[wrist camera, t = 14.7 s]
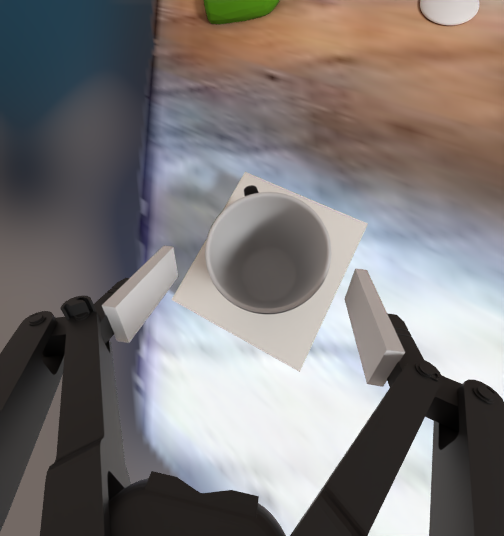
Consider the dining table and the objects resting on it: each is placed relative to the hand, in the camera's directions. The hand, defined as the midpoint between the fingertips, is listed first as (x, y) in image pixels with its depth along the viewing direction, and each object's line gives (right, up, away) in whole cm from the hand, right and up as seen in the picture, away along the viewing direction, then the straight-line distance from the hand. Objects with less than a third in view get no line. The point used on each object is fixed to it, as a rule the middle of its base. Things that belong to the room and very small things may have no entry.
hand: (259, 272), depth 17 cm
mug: (+1, +1, +10) cm, 10 cm away
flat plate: (+2, 0, +13) cm, 13 cm away
